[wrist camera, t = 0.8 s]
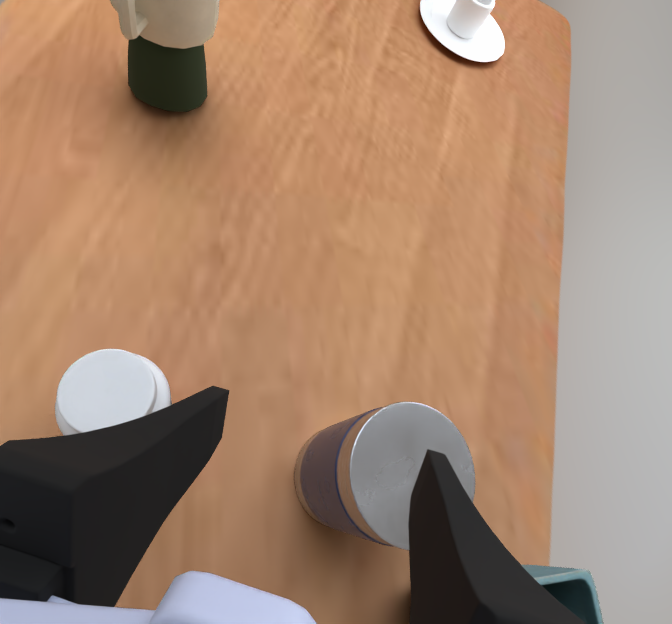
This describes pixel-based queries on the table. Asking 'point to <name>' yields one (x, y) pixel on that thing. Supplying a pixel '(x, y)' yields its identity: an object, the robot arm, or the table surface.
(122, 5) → the character mug
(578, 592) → the flower pot
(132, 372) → the pill bottle
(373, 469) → the tin can
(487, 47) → the candle holder
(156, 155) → the table surface
